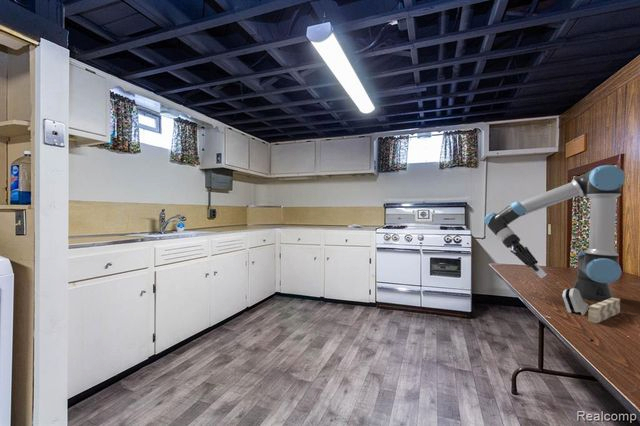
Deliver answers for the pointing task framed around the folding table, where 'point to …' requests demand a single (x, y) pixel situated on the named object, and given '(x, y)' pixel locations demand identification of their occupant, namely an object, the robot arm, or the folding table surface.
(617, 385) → the folding table surface
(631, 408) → the folding table surface
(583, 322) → the folding table surface
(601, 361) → the folding table surface
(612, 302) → the bench stop
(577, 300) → the white black rounded case
